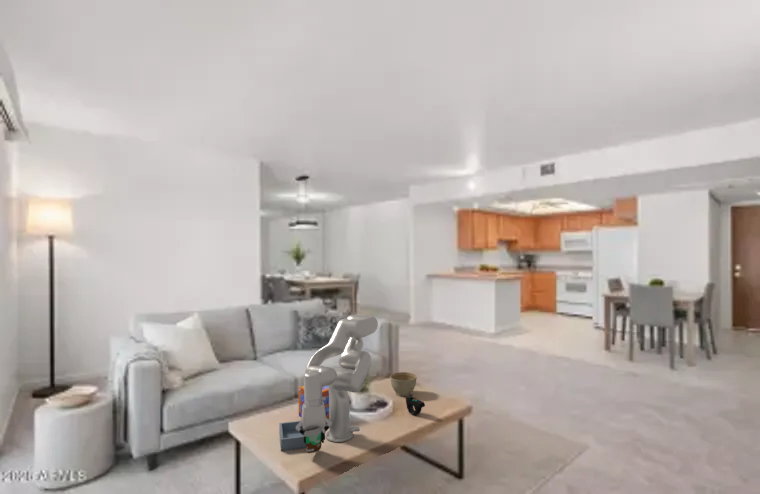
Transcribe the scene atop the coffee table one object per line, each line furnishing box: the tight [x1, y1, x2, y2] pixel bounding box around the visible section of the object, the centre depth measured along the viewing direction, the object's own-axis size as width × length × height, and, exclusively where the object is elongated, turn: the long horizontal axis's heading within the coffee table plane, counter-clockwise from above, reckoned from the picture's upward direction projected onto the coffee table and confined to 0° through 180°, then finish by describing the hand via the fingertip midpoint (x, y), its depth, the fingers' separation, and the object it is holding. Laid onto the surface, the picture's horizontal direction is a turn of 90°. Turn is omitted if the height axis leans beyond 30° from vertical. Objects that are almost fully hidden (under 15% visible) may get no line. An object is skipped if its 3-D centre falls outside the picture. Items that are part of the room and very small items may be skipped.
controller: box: [404, 393, 426, 416], centre depth 220 cm, size 4×12×10 cm, turn 38°
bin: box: [278, 420, 307, 452], centre depth 191 cm, size 12×18×5 cm, turn 16°
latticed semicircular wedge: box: [305, 427, 322, 454], centre depth 178 cm, size 12×6×10 cm, turn 175°
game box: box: [298, 385, 329, 419], centre depth 219 cm, size 16×16×16 cm
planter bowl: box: [389, 371, 418, 397], centre depth 252 cm, size 16×16×11 cm
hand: (314, 442), depth 177 cm, fingers closed on latticed semicircular wedge, 6 cm apart
